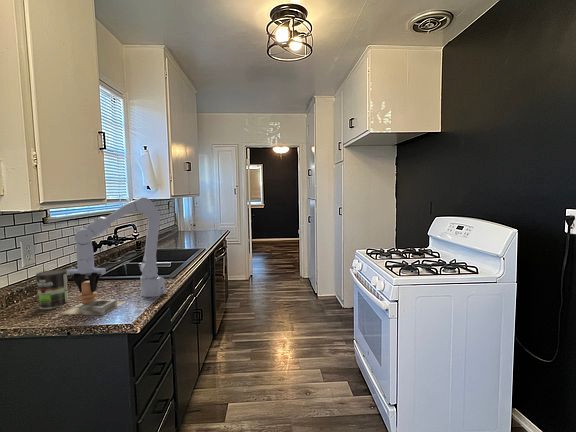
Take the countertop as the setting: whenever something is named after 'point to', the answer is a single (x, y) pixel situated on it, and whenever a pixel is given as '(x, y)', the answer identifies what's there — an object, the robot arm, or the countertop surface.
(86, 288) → the end cover
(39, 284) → the coffee can
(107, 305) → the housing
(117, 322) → the countertop surface
